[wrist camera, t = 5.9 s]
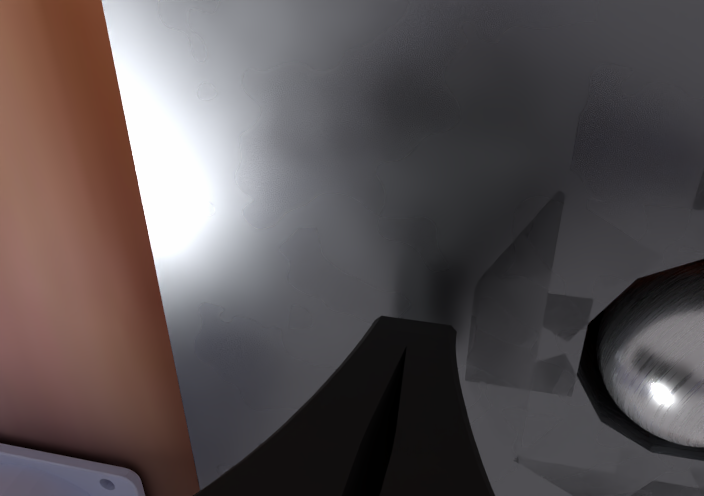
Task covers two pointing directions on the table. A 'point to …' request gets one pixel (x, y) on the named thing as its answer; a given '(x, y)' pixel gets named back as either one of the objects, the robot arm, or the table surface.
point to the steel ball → (658, 353)
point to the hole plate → (418, 207)
